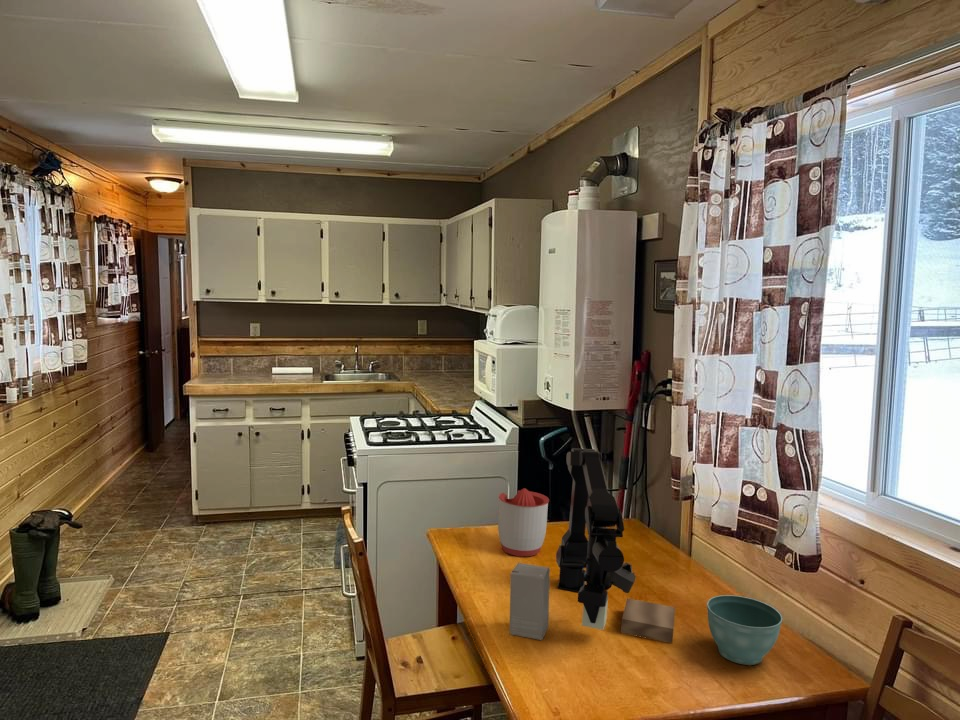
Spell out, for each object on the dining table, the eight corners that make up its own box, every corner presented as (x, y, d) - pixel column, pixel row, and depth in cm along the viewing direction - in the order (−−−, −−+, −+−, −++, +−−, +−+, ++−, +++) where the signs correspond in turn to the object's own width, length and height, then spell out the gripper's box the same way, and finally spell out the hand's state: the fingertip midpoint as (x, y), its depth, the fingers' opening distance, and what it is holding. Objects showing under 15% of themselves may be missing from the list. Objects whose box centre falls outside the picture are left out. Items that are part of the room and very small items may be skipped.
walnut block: (620, 634, 165) (622, 618, 165) (625, 613, 177) (627, 598, 176) (672, 645, 162) (673, 629, 161) (673, 622, 173) (675, 607, 173)
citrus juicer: (522, 536, 226) (526, 477, 224) (555, 555, 212) (560, 492, 210) (483, 543, 218) (486, 482, 216) (514, 563, 204) (518, 498, 201)
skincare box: (548, 629, 165) (552, 566, 163) (541, 643, 158) (545, 577, 157) (514, 622, 168) (518, 559, 166) (506, 635, 161) (510, 570, 159)
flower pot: (688, 645, 161) (692, 601, 160) (735, 631, 169) (739, 589, 168) (744, 681, 147) (749, 633, 146) (793, 664, 155) (798, 619, 154)
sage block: (581, 625, 160) (583, 601, 160) (585, 616, 165) (587, 592, 164) (603, 629, 159) (605, 605, 158) (606, 620, 164) (608, 596, 163)
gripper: (630, 575, 149) (625, 643, 151) (638, 546, 167) (632, 607, 168) (579, 566, 152) (574, 633, 154) (592, 538, 170) (587, 599, 172)
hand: (594, 617), depth 162 cm, fingers closed on sage block, 5 cm apart
